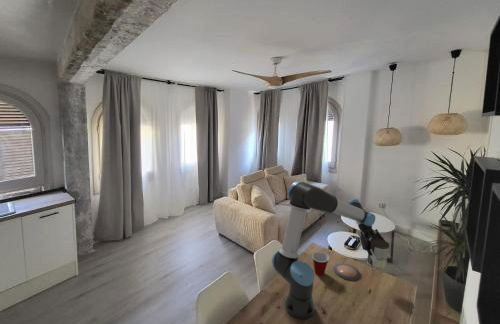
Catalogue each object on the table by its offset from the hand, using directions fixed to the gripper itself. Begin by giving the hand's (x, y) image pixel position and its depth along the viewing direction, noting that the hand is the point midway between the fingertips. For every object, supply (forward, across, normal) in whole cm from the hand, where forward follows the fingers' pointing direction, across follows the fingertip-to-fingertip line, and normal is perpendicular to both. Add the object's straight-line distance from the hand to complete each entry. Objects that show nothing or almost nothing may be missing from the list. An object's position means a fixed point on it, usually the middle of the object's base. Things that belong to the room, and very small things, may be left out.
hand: (381, 259), depth 137 cm
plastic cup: (-3, +25, -30) cm, 39 cm away
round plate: (+1, +7, -26) cm, 27 cm away
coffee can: (+2, 0, -6) cm, 6 cm away
